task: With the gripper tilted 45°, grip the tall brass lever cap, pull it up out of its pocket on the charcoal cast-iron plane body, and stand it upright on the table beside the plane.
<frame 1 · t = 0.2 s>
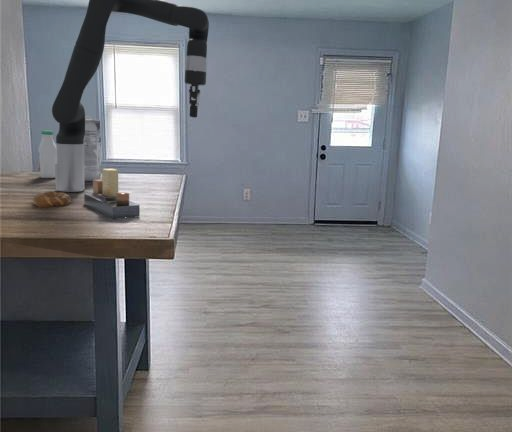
hand: (193, 117, 166), 29 cm above the table, tool pointing down, fingers open, 8 cm apart
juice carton: (87, 180, 198), on the table
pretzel: (52, 205, 146), on the table
plane body: (110, 210, 141), on the table
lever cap: (110, 198, 140), point 3 cm above the table, touching plane body
milk bottle: (49, 177, 199), on the table
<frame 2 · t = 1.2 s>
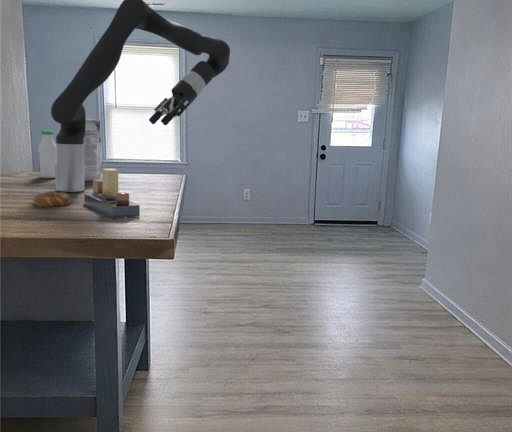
hand: (156, 122, 147), 27 cm above the table, tool tilted 45°, fingers open, 8 cm apart
nothing on the table moved.
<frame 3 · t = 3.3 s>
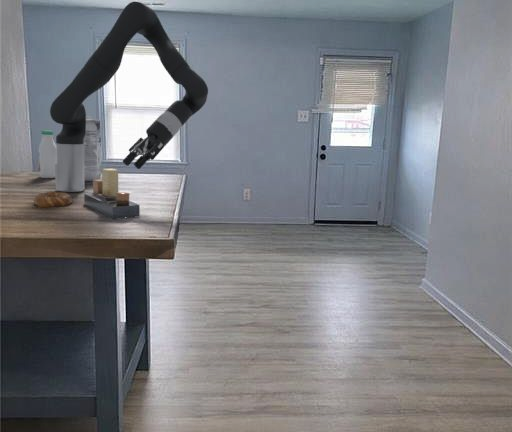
hand: (130, 165, 142), 14 cm above the table, tool tilted 45°, fingers open, 8 cm apart
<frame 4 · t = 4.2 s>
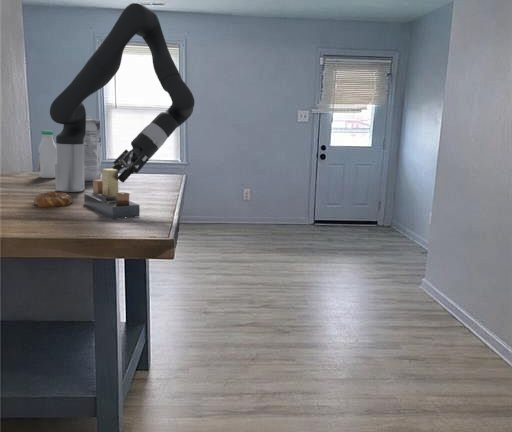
hand: (114, 178, 140), 10 cm above the table, tool tilted 45°, fingers open, 8 cm apart
nothing on the table moved.
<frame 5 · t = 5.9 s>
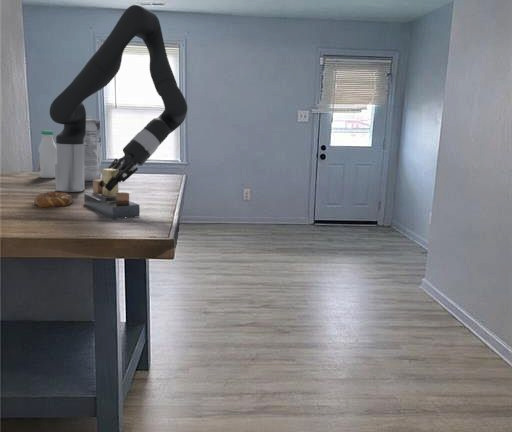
hand: (104, 187, 138), 7 cm above the table, tool tilted 45°, fingers closed on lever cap, 4 cm apart
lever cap: (110, 198, 140), point 4 cm above the table, touching gripper, plane body
everything else where it was.
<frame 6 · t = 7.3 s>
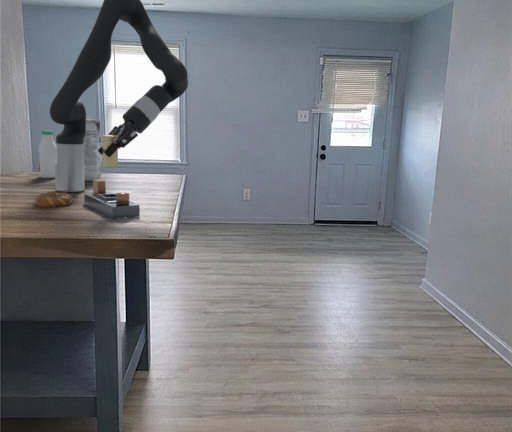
hand: (103, 153, 136), 17 cm above the table, tool tilted 45°, fingers closed on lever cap, 4 cm apart
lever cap: (109, 165, 138), point 14 cm above the table, touching gripper
everything else where it was.
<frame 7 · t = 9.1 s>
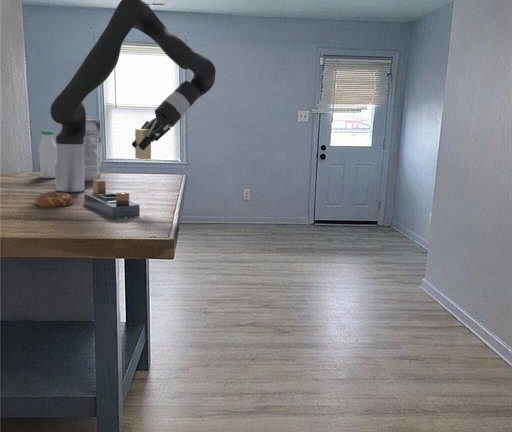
hand: (137, 147, 142), 19 cm above the table, tool tilted 45°, fingers closed on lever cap, 4 cm apart
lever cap: (143, 158, 144), point 16 cm above the table, touching gripper
everything else where it was.
when the fingers open (5 cm above the table, at t = 11.9 s): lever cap drops 1 cm, on the table.
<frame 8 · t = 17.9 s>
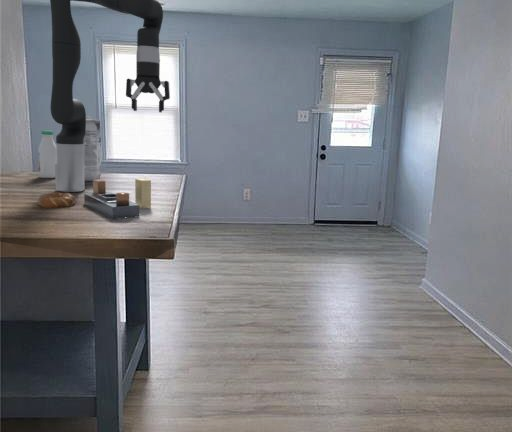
hand: (147, 111, 156), 30 cm above the table, tool pointing down, fingers open, 8 cm apart
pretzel: (57, 205, 145), on the table
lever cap: (143, 207, 148), on the table
everything else where it was.
at the end: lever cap inside the target area (0.1 cm from its centre), on the table; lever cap tilted 0°; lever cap touching table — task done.
